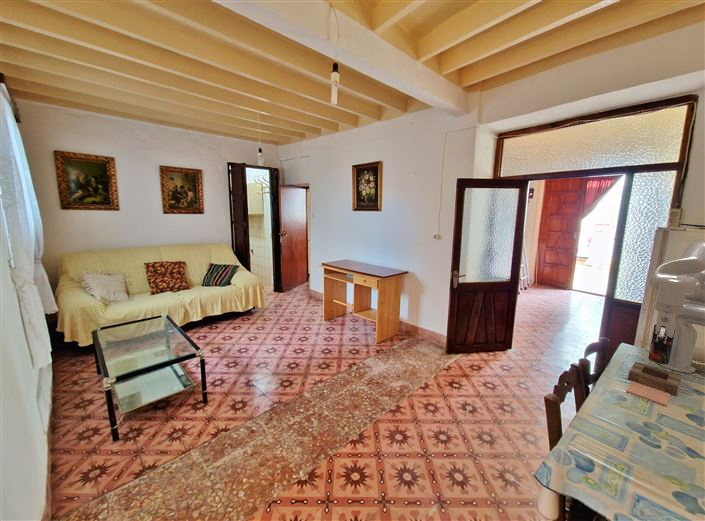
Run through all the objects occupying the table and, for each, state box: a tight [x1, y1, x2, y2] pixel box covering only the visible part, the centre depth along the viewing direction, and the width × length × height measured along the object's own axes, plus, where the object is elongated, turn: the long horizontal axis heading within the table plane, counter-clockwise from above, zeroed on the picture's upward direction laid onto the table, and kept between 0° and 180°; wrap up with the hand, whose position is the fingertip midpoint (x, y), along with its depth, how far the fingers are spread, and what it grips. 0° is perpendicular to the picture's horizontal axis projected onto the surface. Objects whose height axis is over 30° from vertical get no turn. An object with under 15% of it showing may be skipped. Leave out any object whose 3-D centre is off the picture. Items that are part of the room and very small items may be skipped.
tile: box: [626, 381, 671, 408], centre depth 114 cm, size 11×11×1 cm
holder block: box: [627, 361, 682, 397], centre depth 122 cm, size 14×14×4 cm
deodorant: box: [647, 323, 675, 365], centre depth 120 cm, size 6×6×15 cm
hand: (660, 348), depth 120 cm, fingers closed on deodorant, 6 cm apart
